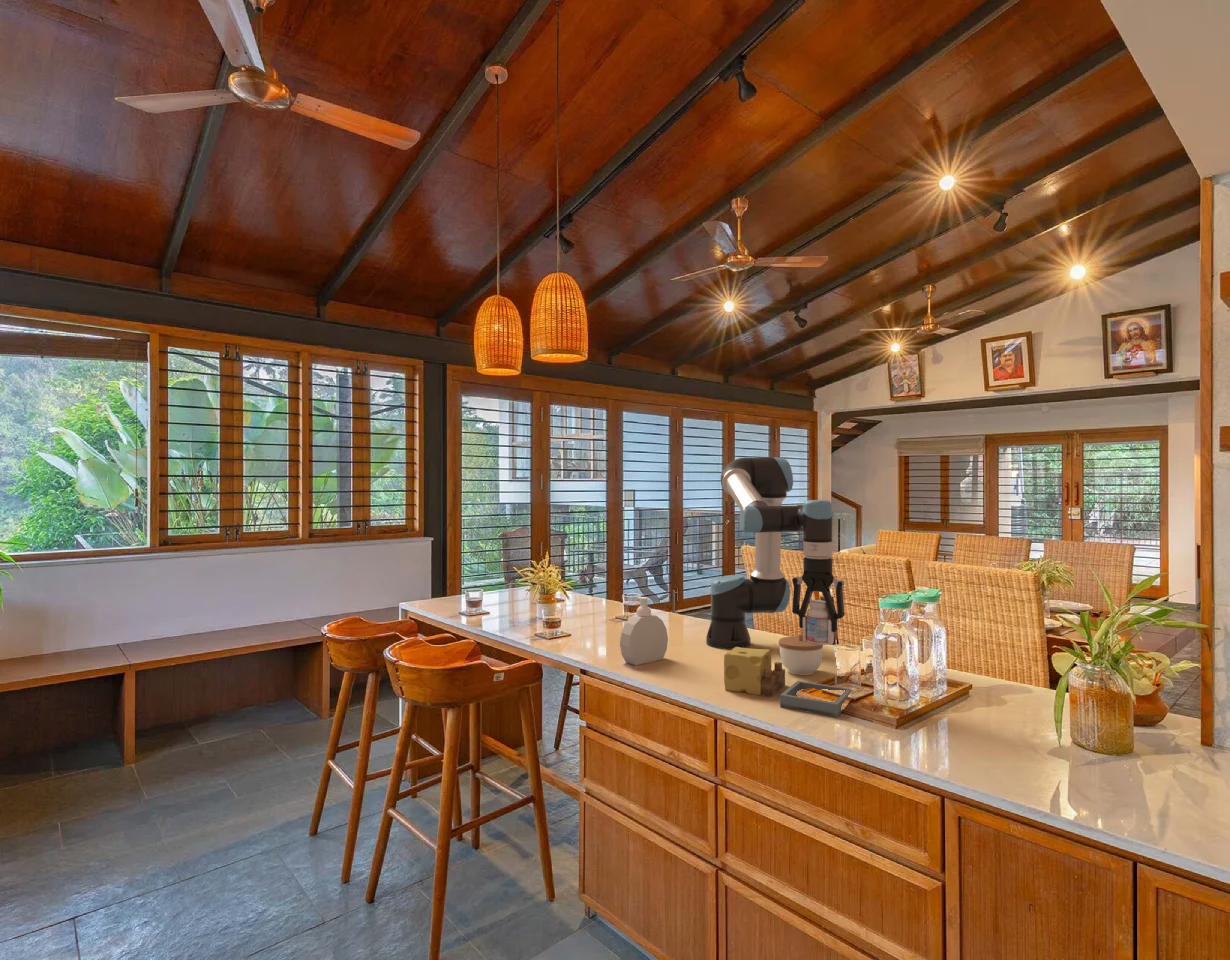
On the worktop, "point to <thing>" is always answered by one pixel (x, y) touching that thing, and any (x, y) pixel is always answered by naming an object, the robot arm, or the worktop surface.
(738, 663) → the cheese
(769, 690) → the stop rail
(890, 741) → the worktop surface
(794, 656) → the lidded bowl
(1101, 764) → the worktop surface
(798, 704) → the tray
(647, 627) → the soap bottle
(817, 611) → the pill bottle
